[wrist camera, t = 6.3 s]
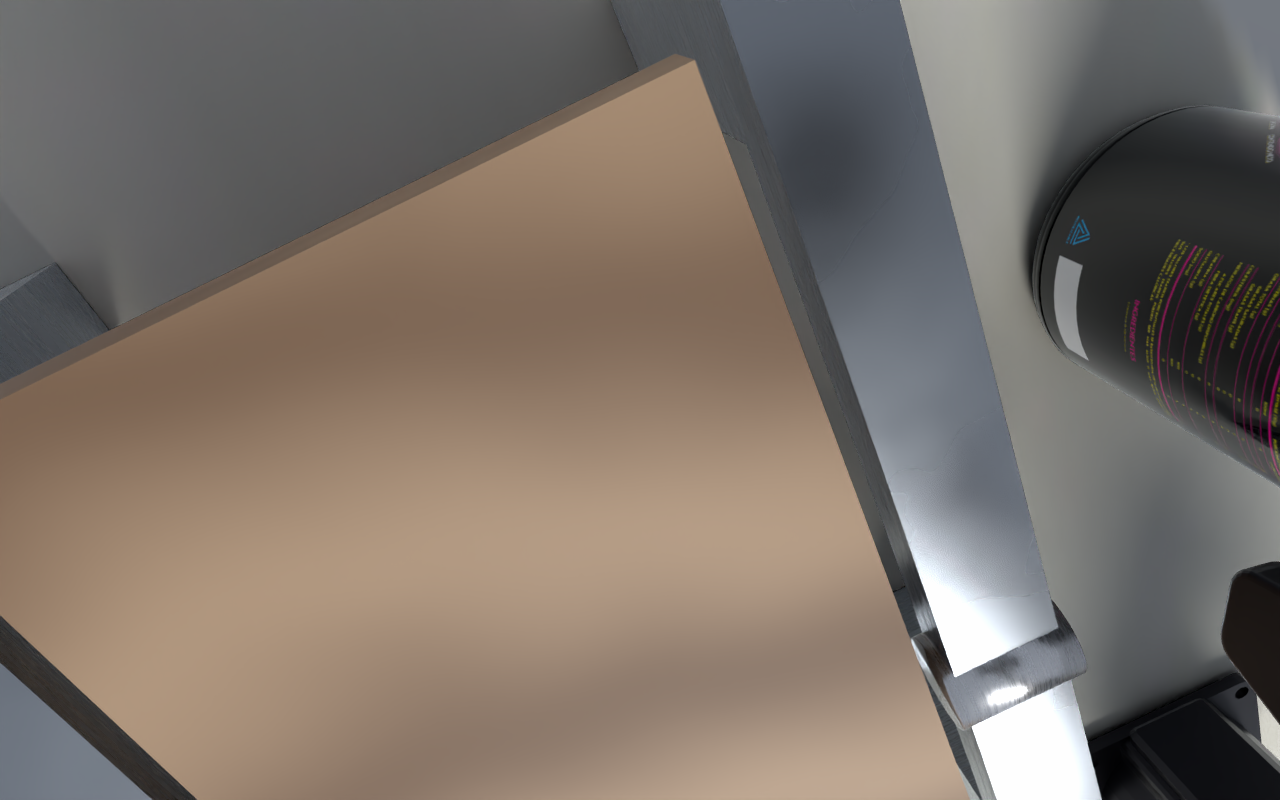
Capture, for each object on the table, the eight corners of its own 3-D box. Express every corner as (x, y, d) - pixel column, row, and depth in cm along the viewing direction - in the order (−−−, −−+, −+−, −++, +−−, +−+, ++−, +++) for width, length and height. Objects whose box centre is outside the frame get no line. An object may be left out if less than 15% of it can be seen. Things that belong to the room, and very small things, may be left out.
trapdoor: (889, 703, 23) (1004, 893, 18) (517, 880, 23) (535, 1115, 19) (615, 35, 15) (695, 59, 10) (42, 316, 15) (-151, 473, 10)
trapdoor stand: (942, 624, 26) (1137, 877, 19) (446, 861, 26) (444, 1204, 19) (709, -59, 17) (906, -92, 10) (-45, 312, 17) (-420, 557, 10)
